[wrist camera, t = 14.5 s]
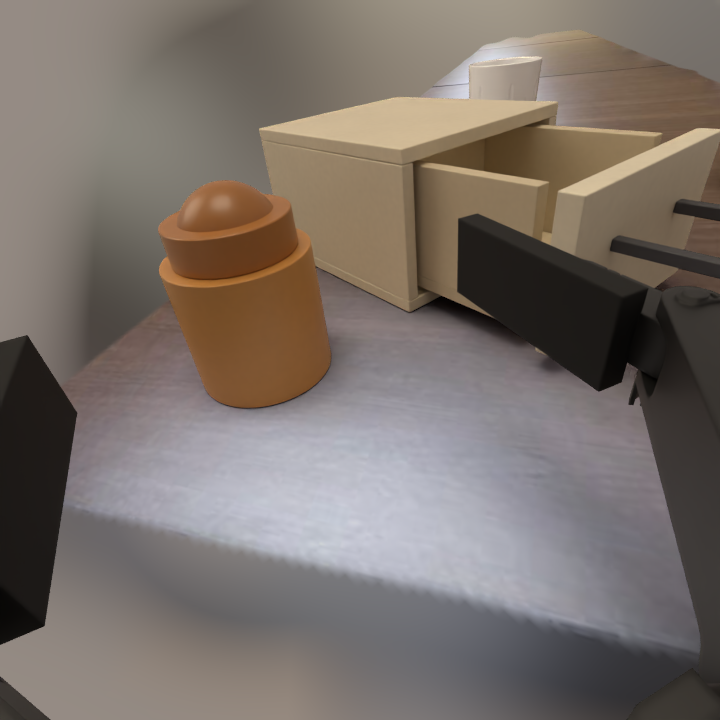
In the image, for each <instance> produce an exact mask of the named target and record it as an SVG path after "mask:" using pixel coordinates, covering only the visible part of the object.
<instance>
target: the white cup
mask: <svg viewBox="0 0 720 720" xmlns="http://www.w3.org/2000/svg"><path fill="white" fill-rule="evenodd" d="M541 63H542V57H514V58H504V59H496V60H489V61H482V62H477V63H473V64H470V65H469V99H479V100H513V101H536V98H537V91H538V84H539V77H540V70H541Z"/></svg>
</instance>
